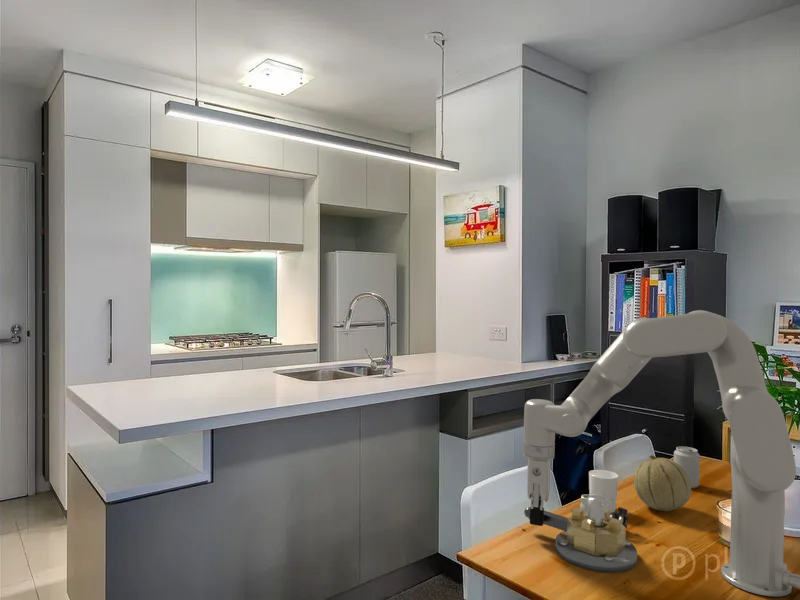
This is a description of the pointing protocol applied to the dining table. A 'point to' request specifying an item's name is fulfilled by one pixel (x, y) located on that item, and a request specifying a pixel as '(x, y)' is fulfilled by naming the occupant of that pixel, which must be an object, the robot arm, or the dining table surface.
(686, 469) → the can
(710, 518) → the dining table surface
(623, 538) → the castle nut fixture
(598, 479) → the white cup
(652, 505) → the cantaloupe
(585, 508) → the valve
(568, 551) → the cap plate
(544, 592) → the dining table surface
